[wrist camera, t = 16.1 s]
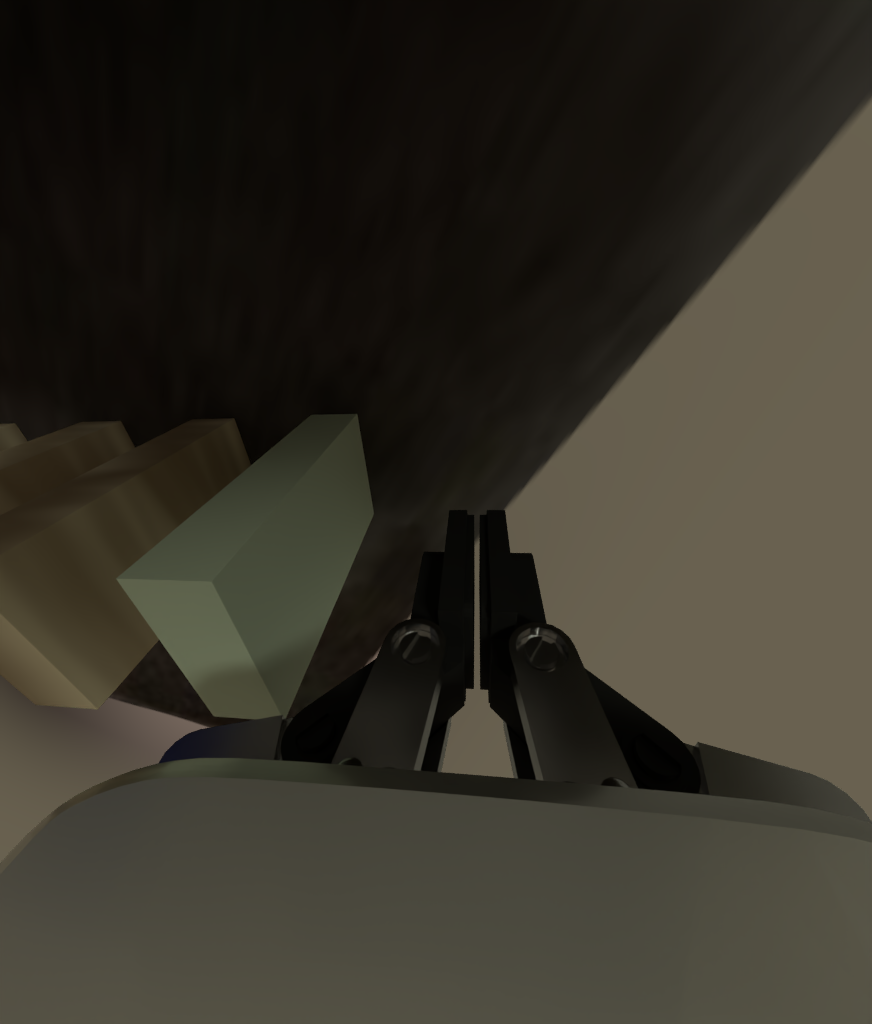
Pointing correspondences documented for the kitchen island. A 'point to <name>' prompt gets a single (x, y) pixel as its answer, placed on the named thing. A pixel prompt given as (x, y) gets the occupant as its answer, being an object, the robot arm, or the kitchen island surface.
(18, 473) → the domino
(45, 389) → the kitchen island surface
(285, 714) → the sage domino
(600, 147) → the kitchen island surface
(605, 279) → the kitchen island surface
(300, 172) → the kitchen island surface
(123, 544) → the domino
